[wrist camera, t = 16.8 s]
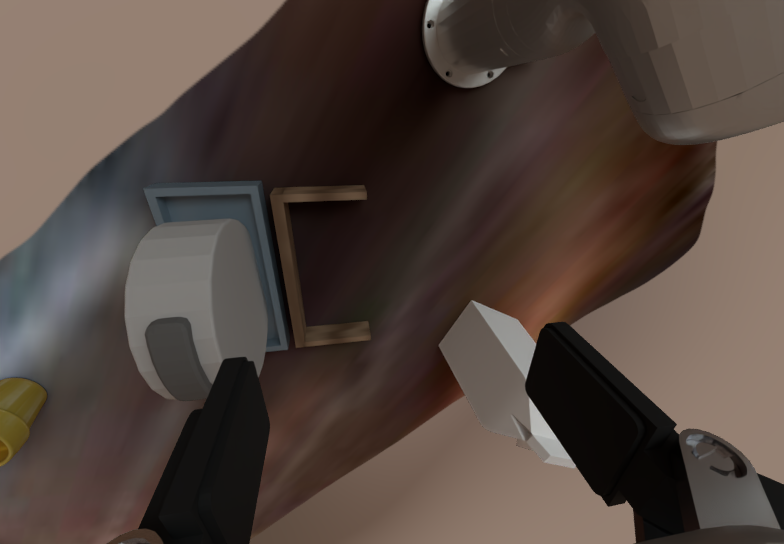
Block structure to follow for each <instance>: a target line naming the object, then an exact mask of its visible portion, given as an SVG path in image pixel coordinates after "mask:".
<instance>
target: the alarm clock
mask: <svg viewBox="0 0 784 544" xmlns="http://www.w3.org/2000/svg"><path fill="white" fill-rule="evenodd" d="M125 324H126V329H127V335H128V341H129V347H130V350H131V352H132V355H133V357H134V360H135V362H136V365H137V368H138V370H139V372H140V374H141V375H142V377H143V378H144V379H145V381H146V382H147V383H148V385H149V386H150V388H151V389H152V390H154V391H155V392H157V393H158V394H160V395H161V396H163V397H164V398H166V399H173V400H180V401H192V400H199V399H206V398H207V397H208V395H209V392H210V390H211V388H212V385H213V383H214V380H215V378H216V375H217V373H218V371H219V368H220V366H221V363H222V361H223V360H224V359H227V358H236V357H246V358H247V360H248V361H254V364H255V367H256V371H257V375H258V377H259V375H260V372H261V369H262V366H263V362H264V357H265V352H266V343H267V331H268V312H267V303H266V299H265V295H264V291H263V287H262V282H261V278H260V274H259V270H258V266H257V262H256V258H255V253H254V249H253V245H252V241H251V237H250V234H249V232H248V230H247V228H246V227H245V226H244V225H243V224H242V223H241V222H240V221H238V220H235V219H230V218H229V219H214V220H199V221H183V222H168V223H163V224H161V225H158V226H156V227H154V228H152V229H151V230H150V231H149V232H148V233H147V234H146V235H145V236H144V237H143V239H142V240H141V241H140V242H139V245H138V247H137V249H136V251H135V253H134V255H133V257H132V259H131V262H130V266H129V271H128V276H127V281H126V286H125Z"/></svg>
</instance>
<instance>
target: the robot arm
mask: <svg viewBox="0 0 784 544" xmlns="http://www.w3.org/2000/svg"><path fill="white" fill-rule="evenodd" d="M427 24H430V28H428V27H427ZM594 33H596V35H597V37H598V39H599V41H600V43H601V46H602V48H603V50H604V52H605V54H606V55H607V56H608V58H609V61H610V63H611V65H612V68H613V70H614V72H615V74H616V77H617V79H618V81H619V83H620V86H621V88H622V90H623V93H624V95H625V97H626V99H627V102H628V104H629V105H630V108H631V110H632V112H633V114H634V116H635V118H636V120H637V121H638V123H639V125H640V126H641V127H642V129H643V130H644V131H645V132H646V133H647V134H648V135H649V136H651V137H652V138H654V139H656V140H658V141H661V142H664V143H668V144H676V145H690V144H701V143H708V142H713V141H718V140H723V139H727V138H731V137H735V136H738V135H742V134H746V133H749V132H753V131H755V130H759V129H762V128H766V127H769V126H772V125H775V124H778V123H781V122H784V0H427V2H426V5H425V9H424V13H423V20H422V40H423V45H424V50H425V54H426V56H427V58H428V61H429V63H430V65H431V66H432V68H433V70H434V71H435V72H436V74H437V75H438V76H439V77H440V78H441V79H443V80H444V81H445V82H447V83H448V84H450V85H453V86H455V87H460V88H475V87H479V86H483V85H485V84H487V83H489V82H491V81H492V80H494V79H495V78H497V77H498V76H499V75H500V74H501V73H502V72H503V71H504V70H505V69H506V68H507V67H509V66H514V65H519V64H524V63H528V62H533V61H538V60H543V59H547V58H551V57H555V56H559V55H562V54H564V53H567V52H569V51H571V50H573V49H575V48H576V47H578V46H579V45H581V44H582V43H584V42H585V41H586V40H587V39H588V38H590V37H591V36H592V35H593V34H594ZM446 72H448V73H449V75H448V76H446ZM487 73H488V74H489V76H488V77H487ZM525 390H526V393H527V395H528V396H529V398H530V399H531V401H532V402H533V404H534V405H535V407H536V408H537V410H538V411H539V412H540V414H541V415H542V417H543V418H544V420H545V421H546V423H547V424H548V426H549V427H550V429H551V430H552V432H553V433H554V434H555V436H556V437H557V439H558V440H559V442H560V443H561V445H562V446H563V448H564V449H565V451H566V452H567V453H568V455H569V456H570V458H571V459H572V461H573V462H574V464H575V465H576V467H577V468H578V470H579V471H580V472H581V474H582V475H583V477H584V478H585V480H586V481H587V483H588V484H589V486H590V487H591V489H592V490H593V491H594V492H595V493H596V494H598V495H600V496H601V497H602V498H603V500H604V501H605V503H606V504H607V506H613V505H618V504H623V503H625V502H626V500H627V501H628V503H629V504H630V505H631V507H632V508H633V512H634V525H635V536H636V543H635V544H784V484H781V483H779V482H777V481H774V480H772V479H770V478H767V477H765V476H762V475H760V474H758V473H756V471H755V469H754V467H753V466H752V464H751V463H750V461H749V460H748V459H747V458H746V457H745V456H744V455H743V453H742V452H740V451H739V450H738V449H737V448H735V447H734V446H733V445H731V444H730V443H728V442H727V441H725V440H723V439H722V438H720V437H718V436H716V435H714V434H711V433H709V432H706V431H702V430H698V429H686V430H683V431H682V432H681V433H680V434H678V433H676V431H675V430H674V428H675V426H676V425H677V424H676V423H675V422H674V421H673V420H672V419H671V418H669V417H668V416H667V415H666V414H665V413H664V412H663V411H662V410H661V409H660V408H659V407H657V406H656V405H655V404H654V403H653V402H652V401H651V400H650V399H649V398H648V397H647V396H645V395H644V394H643V393H642V392H641V391H640V390H639V389H638V388H637V387H636V386H634V384H633V383H631V382H630V381H629V380H628V379H627V378H626V377H625V376H624V375H623V374H622V373H621V372H619V371H618V370H617V369H616V368H615V367H614V366H613V365H612V364H611V363H609V361H608V360H606V359H605V358H604V357H603V356H602V355H601V354H600V353H599V352H598V351H597V350H596V349H594V348H593V347H592V346H591V345H590V344H589V343H588V342H587V341H586V340H584V338H582V337H581V336H580V335H579V334H578V333H577V332H576V331H575V330H574V329H573V328H572V327H571V326H569V325H568V324H567V323H566V322H556V323H548V324H546V325H545V326H544V328H542V329H541V331H540V334H539V337H538V340H537V344H536V347H535V351H534V354H533V358H532V361H531V365H530V368H529V371H528V375H527V378H526V382H525ZM269 431H270V422H269V417H268V413H267V409H266V406H265V402H264V398H263V394H262V390H261V386H260V382H259V379H258V375H257V371H256V367H255V364H254V361H248V360H247V358H246V357H236V358H227V359H224V360H223V361H222V363H221V366H220V368H219V371H218V373H217V375H216V378H215V380H214V383H213V385H212V388H211V390H210V392H209V395H208V397H207V400H206V402H205V404H204V407H203V409H197V410H194V411H193V412H192V413H191V414H190V415H189V417H188V419H187V421H186V423H185V426H184V428H183V430H182V432H181V435H180V437H179V439H178V441H177V443H176V446H175V448H174V450H173V452H172V455H171V457H170V459H169V461H168V463H167V466H166V468H165V470H164V472H163V475H162V477H161V479H160V481H159V484H158V486H157V488H156V490H155V492H154V495H153V497H152V499H151V501H150V504H149V506H148V508H147V510H146V513H145V515H144V517H143V519H142V521H141V524H140V526H139V528H138V529H136V530H132V531H129V532H127V533H124V534H122V535H119V536H118V537H116V538H115V539H113V540H112V541H110V542H108V543H107V544H249V541H250V537H251V531H252V526H253V520H254V514H255V509H256V503H257V498H258V492H259V487H260V481H261V476H262V470H263V465H264V459H265V454H266V448H267V443H268V437H269Z"/></svg>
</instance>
